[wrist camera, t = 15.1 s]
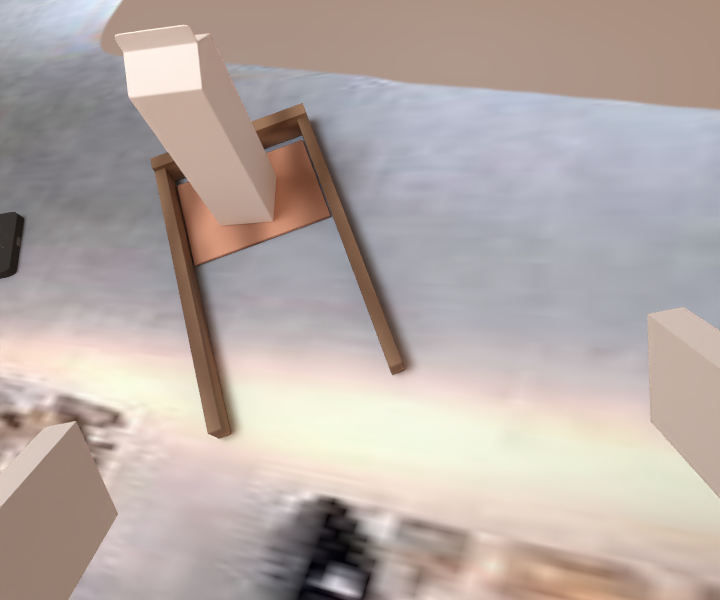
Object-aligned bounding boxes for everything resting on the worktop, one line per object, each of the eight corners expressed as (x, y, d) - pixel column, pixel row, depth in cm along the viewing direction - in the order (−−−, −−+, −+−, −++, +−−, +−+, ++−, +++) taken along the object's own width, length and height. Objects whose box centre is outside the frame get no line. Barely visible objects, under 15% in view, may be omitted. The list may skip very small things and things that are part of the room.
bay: (308, 121, 64) (302, 103, 61) (404, 370, 50) (401, 360, 47) (163, 175, 63) (150, 158, 61) (218, 438, 50) (205, 432, 47)
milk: (274, 222, 58) (184, 56, 38) (219, 227, 59) (104, 66, 39) (277, 175, 61) (194, -4, 41) (224, 180, 61) (118, 6, 41)
